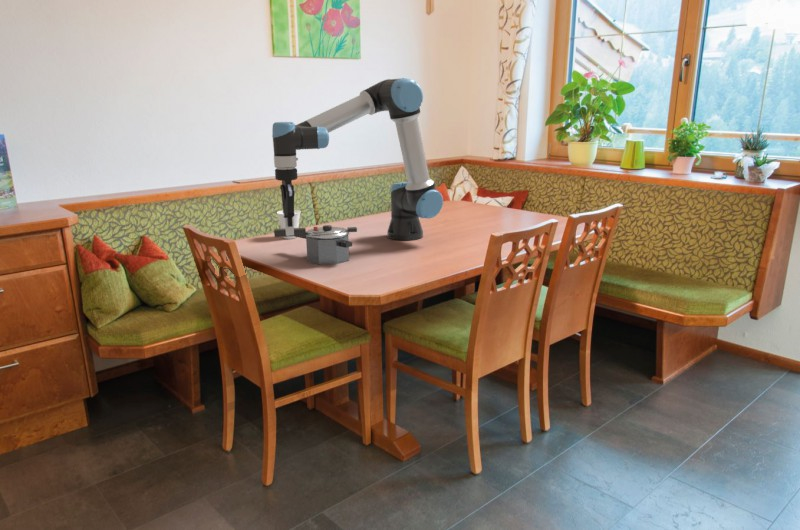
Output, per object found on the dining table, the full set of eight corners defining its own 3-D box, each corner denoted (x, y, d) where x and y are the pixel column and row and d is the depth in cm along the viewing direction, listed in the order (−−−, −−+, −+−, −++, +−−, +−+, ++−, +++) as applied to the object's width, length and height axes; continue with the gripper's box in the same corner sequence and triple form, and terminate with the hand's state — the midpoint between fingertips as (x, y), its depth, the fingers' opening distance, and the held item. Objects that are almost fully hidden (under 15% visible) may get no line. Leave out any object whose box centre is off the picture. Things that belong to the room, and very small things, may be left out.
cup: (297, 240, 251) (295, 214, 248) (274, 239, 253) (272, 213, 250) (305, 235, 260) (304, 210, 257) (283, 234, 262) (282, 209, 259)
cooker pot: (364, 259, 221) (363, 235, 218) (334, 268, 210) (333, 243, 207) (310, 247, 239) (309, 225, 237) (280, 255, 228) (279, 231, 226)
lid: (354, 228, 229) (354, 220, 228) (358, 237, 214) (358, 229, 213) (275, 231, 224) (274, 223, 223) (274, 241, 209) (273, 232, 208)
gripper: (300, 169, 203) (304, 237, 210) (293, 165, 215) (296, 230, 221) (278, 170, 201) (282, 239, 207) (271, 166, 212) (276, 232, 219)
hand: (289, 234), depth 214 cm, fingers closed
